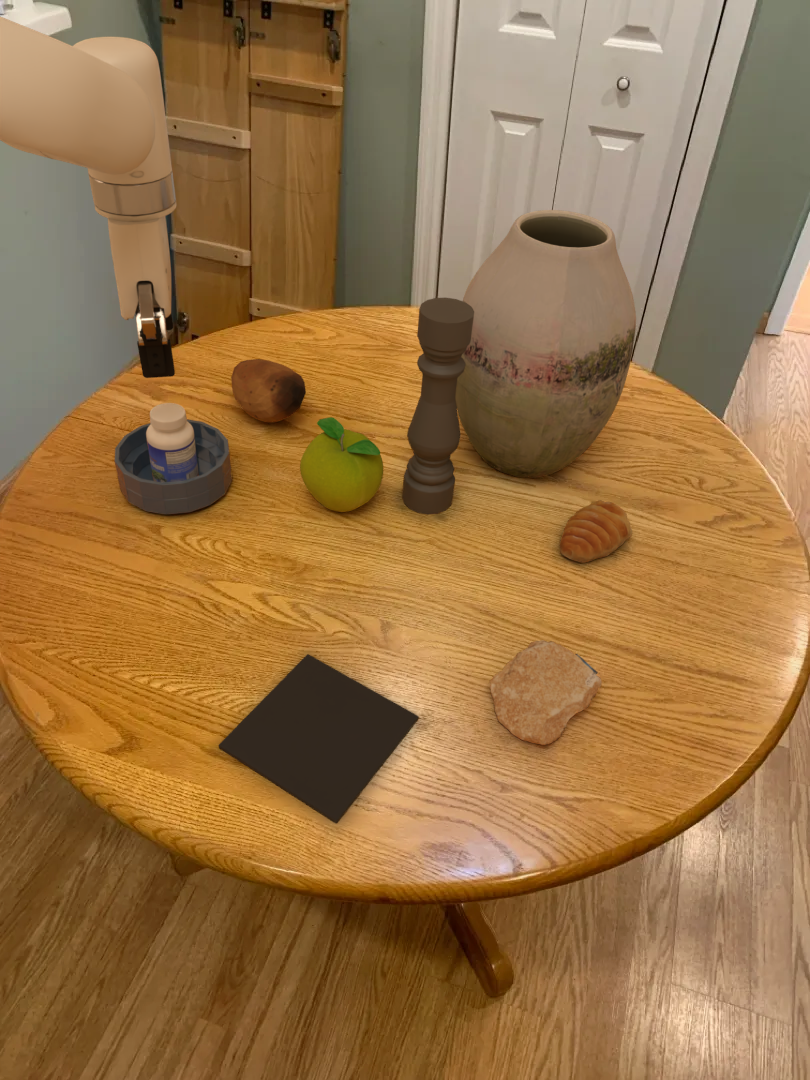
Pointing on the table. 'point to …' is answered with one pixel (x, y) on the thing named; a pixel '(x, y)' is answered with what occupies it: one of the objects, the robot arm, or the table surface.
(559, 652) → the stone
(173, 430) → the pill bottle
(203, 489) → the bowl
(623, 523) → the pastry
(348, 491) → the fruit
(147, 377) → the robot arm
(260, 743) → the mat
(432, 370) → the candle holder
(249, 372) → the potato
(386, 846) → the table surface
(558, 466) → the vase
